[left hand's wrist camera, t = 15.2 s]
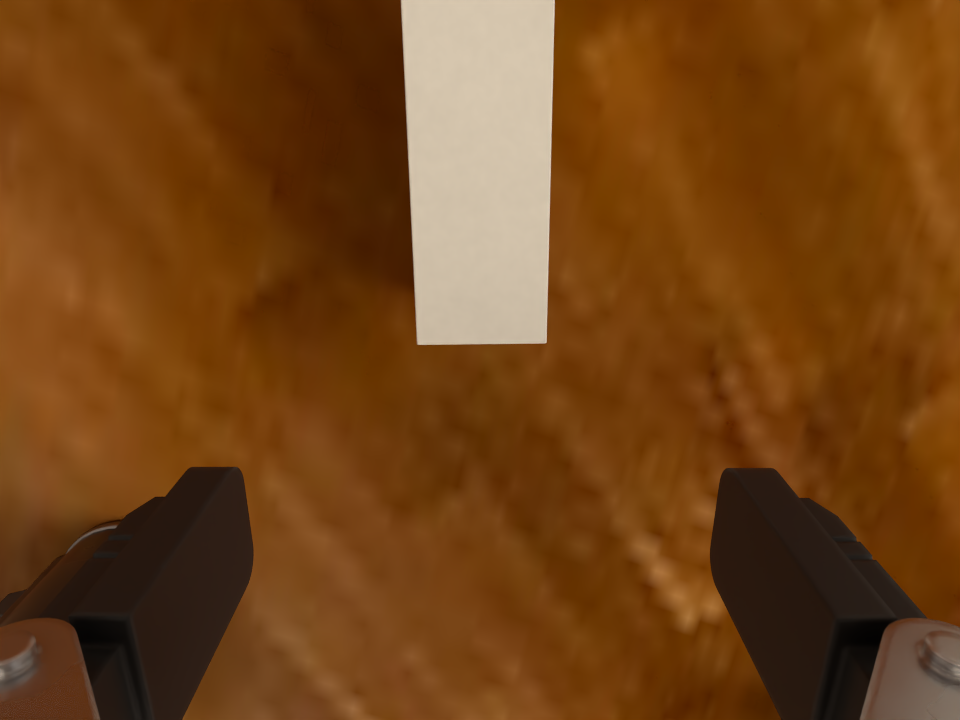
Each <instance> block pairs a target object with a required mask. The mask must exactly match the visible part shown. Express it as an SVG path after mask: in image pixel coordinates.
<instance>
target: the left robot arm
mask: <svg viewBox="0 0 960 720" xmlns="http://www.w3.org/2000/svg"><path fill="white" fill-rule="evenodd" d="M710 563H711V571H712V576H713V579H714V583H715V585H716V588H717V590H718V592H719V594H720V596H721V598H722V600H723V602H724V604H725V606H726V608H727V610H728V612H729V614H730V616H731V618H732V620H733V622H734V624H735V626H736V628H737V630H738V632H739V634H740V636H741V638H742V640H743V642H744V644H745V646H746V648H747V650H748V652H749V654H750V656H751V658H752V661H753V663H754V665H755V667H756V669H757V671H758V673H759V675H760V677H761V679H762V681H763V683H764V685H765V687H766V689H767V691H768V693H769V695H770V697H771V699H772V701H773V703H774V705H775V707H776V709H777V711H778V713H779V715H780V717H781V719H782V720H960V627H957V626H954V625H951V624H948V623H945V622H941V621H937V620H932V619H927V618H926V616H925V615H924V614H923V613H922V612H921V611H920V610H919V608H918V607H917V606H916V605H915V604H914V603H913V602H912V600H911V599H910V598H909V597H908V596H907V595H906V594H905V592H904V591H903V590H902V589H901V588H900V587H899V586H898V585H897V583H896V582H895V581H894V580H893V579H892V578H891V577H890V575H889V574H888V573H887V572H886V571H885V570H884V569H883V567H882V566H881V565H880V564H879V563H878V562H877V561H876V560H872V555H871V554H870V553H869V552H868V550H867V549H866V548H865V547H864V546H863V545H862V544H861V542H857V541H856V537H855V536H854V534H853V533H852V532H851V531H850V530H849V529H848V528H847V527H846V525H845V524H844V523H843V522H842V521H841V520H840V519H839V517H838V516H836V515H835V514H833V513H831V512H830V511H828V510H827V509H825V508H824V507H822V506H820V505H819V504H817V503H816V502H814V501H812V500H811V499H809V498H799V497H798V496H797V495H796V494H795V492H794V491H793V490H792V489H791V488H790V486H789V485H788V484H787V483H786V482H785V480H784V479H783V478H782V477H781V475H780V474H779V473H778V472H777V471H776V470H775V469H773V468H727V469H725V470H724V471H723V473H722V475H721V478H720V483H719V490H718V497H717V504H716V511H715V518H714V525H713V532H712V539H711V547H710ZM252 566H253V542H252V535H251V528H250V520H249V513H248V506H247V499H246V492H245V485H244V479H243V475H242V473H241V471H240V469H239V468H238V467H191V468H189V469H188V470H187V471H186V472H185V473H184V474H183V476H182V477H181V478H180V479H179V480H178V482H177V483H176V484H175V485H174V487H173V488H172V489H171V490H170V492H169V493H168V494H167V495H166V496H165V497H154V498H153V499H151V500H150V501H148V502H147V503H145V504H143V505H142V506H140V507H139V508H137V509H135V510H134V511H132V512H131V513H129V514H128V515H126V517H125V518H124V519H123V520H122V521H117V522H110V523H105V524H102V525H99V526H96V527H94V528H92V529H90V530H88V531H87V532H85V533H84V534H83V535H82V536H80V537H79V538H78V539H77V540H76V541H75V543H74V544H73V545H72V546H71V547H70V548H69V550H68V551H67V553H66V554H65V556H62V557H58V558H56V559H55V560H54V561H53V562H52V563H51V564H50V565H49V567H48V568H47V569H46V570H45V571H44V572H43V573H42V574H41V575H40V576H39V577H38V578H37V579H36V580H35V581H34V582H33V583H32V585H31V586H30V587H29V588H28V589H27V590H23V591H19V592H15V593H11V594H8V595H7V596H6V597H5V598H4V599H3V600H2V601H1V602H0V720H182V718H183V716H184V714H185V712H186V710H187V708H188V706H189V704H190V702H191V700H192V698H193V696H194V694H195V692H196V690H197V688H198V686H199V684H200V682H201V680H202V678H203V675H204V673H205V671H206V669H207V667H208V665H209V663H210V661H211V659H212V657H213V655H214V653H215V651H216V649H217V647H218V645H219V643H220V641H221V639H222V637H223V635H224V632H225V630H226V628H227V626H228V624H229V622H230V620H231V618H232V616H233V614H234V612H235V610H236V608H237V606H238V604H239V602H240V600H241V598H242V596H243V594H244V592H245V590H246V587H247V585H248V583H249V580H250V576H251V572H252Z"/></svg>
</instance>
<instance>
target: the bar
mask: <svg viewBox="0 0 960 720" xmlns="http://www.w3.org/2000/svg"><path fill="white" fill-rule="evenodd" d="M554 7H555V0H401V15H402V36H403V57H404V78H405V100H406V121H407V142H408V163H409V184H410V205H411V226H412V247H413V268H414V289H415V311H416V332H417V344H418V345H440V344H529V343H546V340H547V299H548V257H549V216H550V174H551V132H552V91H553V49H554Z"/></svg>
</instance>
